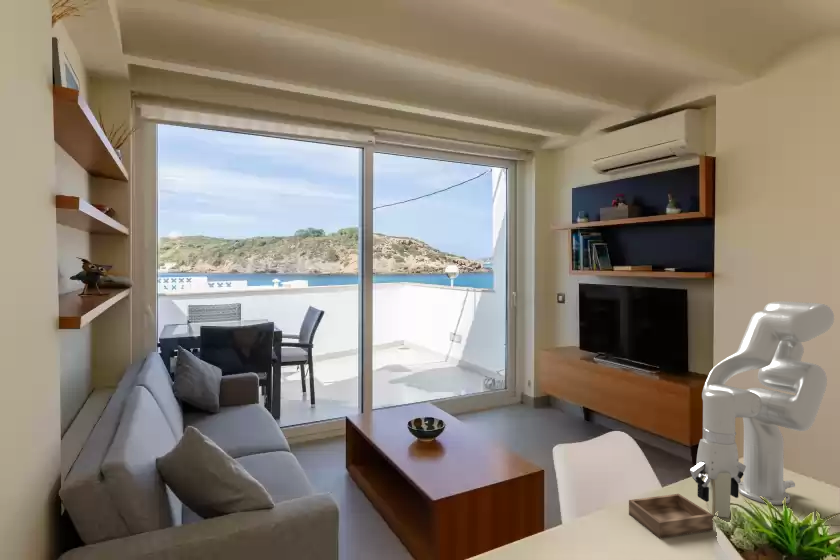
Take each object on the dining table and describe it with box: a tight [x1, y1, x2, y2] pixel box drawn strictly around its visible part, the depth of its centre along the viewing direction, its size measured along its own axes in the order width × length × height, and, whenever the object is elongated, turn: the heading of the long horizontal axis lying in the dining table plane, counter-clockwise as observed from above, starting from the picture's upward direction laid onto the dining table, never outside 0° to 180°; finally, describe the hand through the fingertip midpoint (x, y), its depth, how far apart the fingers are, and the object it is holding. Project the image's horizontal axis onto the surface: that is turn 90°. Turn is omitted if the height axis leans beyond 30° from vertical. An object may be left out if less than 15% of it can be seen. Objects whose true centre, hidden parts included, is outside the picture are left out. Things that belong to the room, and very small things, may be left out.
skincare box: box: [705, 472, 731, 519], centre depth 126 cm, size 6×4×12 cm
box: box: [628, 493, 714, 539], centre depth 121 cm, size 16×12×4 cm
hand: (717, 497), depth 126 cm, fingers open, 9 cm apart
